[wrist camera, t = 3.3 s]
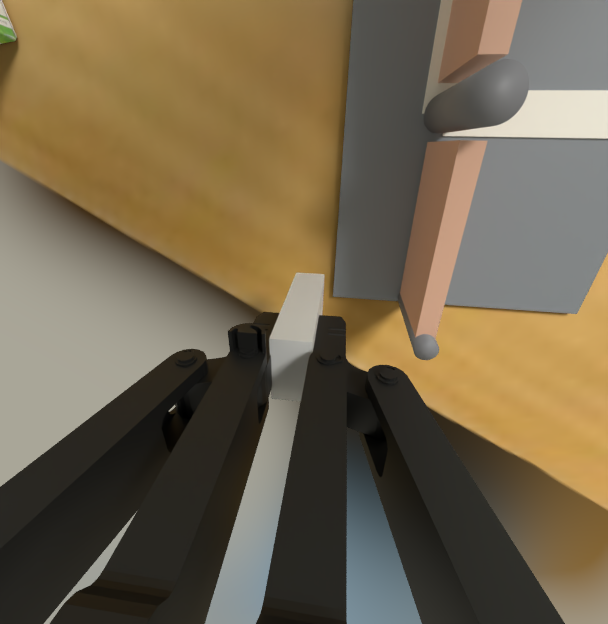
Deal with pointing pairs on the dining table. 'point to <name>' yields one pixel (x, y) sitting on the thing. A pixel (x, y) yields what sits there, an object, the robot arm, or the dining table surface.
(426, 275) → the fence panel
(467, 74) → the fence fixed
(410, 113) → the card
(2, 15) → the syrup box
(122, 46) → the dining table surface
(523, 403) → the dining table surface
